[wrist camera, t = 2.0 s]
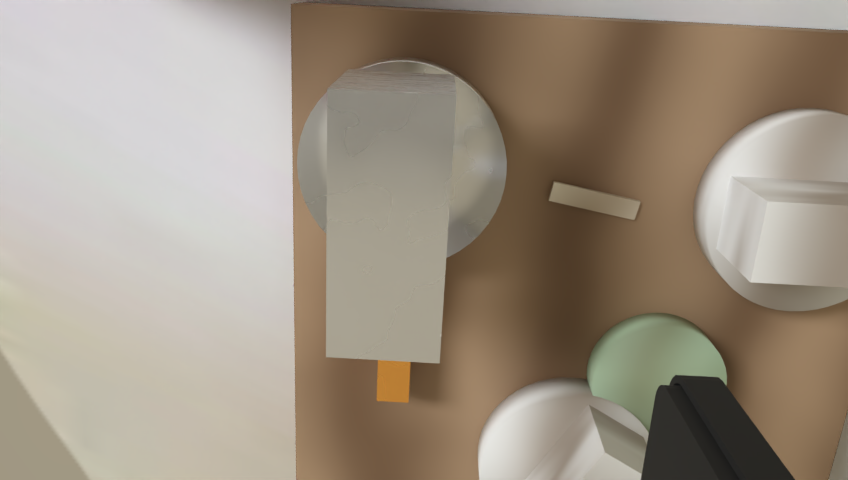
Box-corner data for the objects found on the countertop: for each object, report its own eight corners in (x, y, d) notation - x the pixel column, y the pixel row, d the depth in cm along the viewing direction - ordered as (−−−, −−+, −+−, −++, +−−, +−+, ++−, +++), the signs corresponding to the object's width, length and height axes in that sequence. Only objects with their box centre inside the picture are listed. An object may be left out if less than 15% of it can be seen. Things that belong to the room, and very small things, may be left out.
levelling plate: (906, 33, 27) (1058, 51, 20) (786, 497, 34) (870, 624, 27) (304, 2, 27) (259, 8, 20) (306, 470, 34) (273, 589, 27)
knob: (304, 52, 25) (241, 83, 17) (511, 62, 25) (542, 100, 17) (306, 377, 29) (256, 522, 21) (483, 387, 29) (498, 536, 21)
